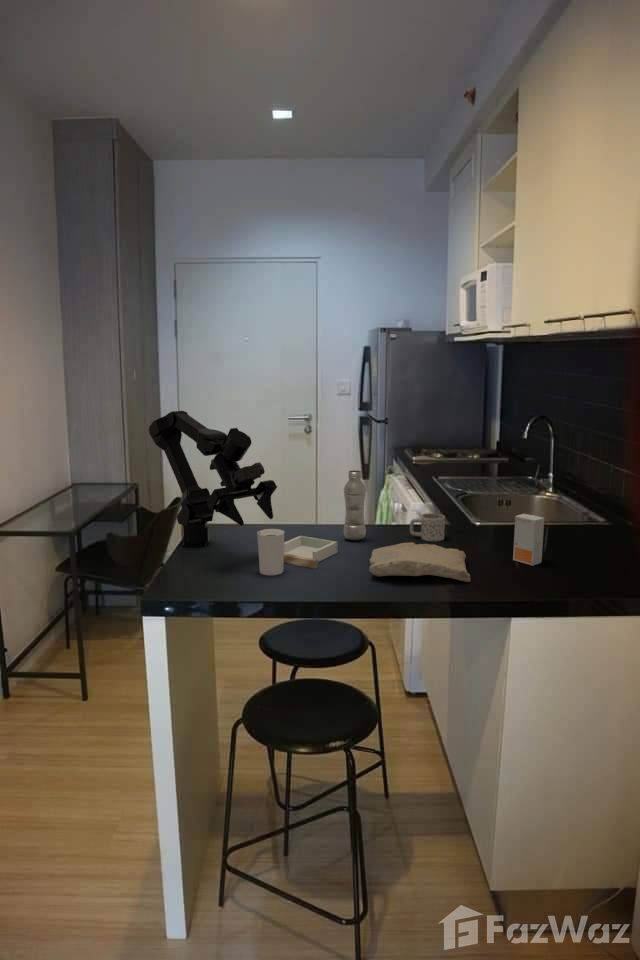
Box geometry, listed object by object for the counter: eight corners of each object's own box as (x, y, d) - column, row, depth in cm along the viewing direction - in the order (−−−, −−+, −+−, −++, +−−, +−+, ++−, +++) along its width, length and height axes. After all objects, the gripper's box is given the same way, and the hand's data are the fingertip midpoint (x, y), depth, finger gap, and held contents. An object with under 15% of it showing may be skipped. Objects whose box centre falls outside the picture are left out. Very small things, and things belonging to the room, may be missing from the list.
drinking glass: (284, 575, 162) (283, 536, 160) (256, 576, 162) (255, 536, 160) (285, 567, 168) (284, 528, 166) (259, 567, 168) (258, 529, 166)
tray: (313, 564, 170) (313, 553, 170) (275, 557, 176) (275, 546, 176) (337, 552, 180) (337, 541, 180) (300, 546, 186) (300, 535, 186)
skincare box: (512, 560, 172) (514, 515, 170) (521, 557, 175) (524, 513, 173) (532, 566, 168) (535, 520, 166) (542, 562, 170) (545, 517, 168)
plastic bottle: (366, 536, 196) (366, 469, 192) (365, 543, 189) (365, 473, 185) (344, 536, 196) (344, 469, 192) (342, 542, 190) (342, 473, 186)
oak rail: (263, 558, 175) (262, 551, 175) (266, 557, 176) (266, 549, 176) (314, 568, 167) (314, 561, 166) (317, 567, 168) (317, 559, 168)
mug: (442, 535, 197) (442, 513, 196) (445, 541, 190) (446, 518, 189) (408, 535, 197) (408, 513, 196) (410, 541, 191) (411, 518, 189)
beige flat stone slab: (471, 592, 153) (465, 558, 172) (472, 562, 151) (466, 531, 170) (365, 591, 157) (371, 557, 176) (364, 561, 154) (370, 531, 174)
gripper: (211, 457, 161) (240, 508, 155) (271, 449, 173) (300, 497, 167) (195, 484, 168) (221, 535, 162) (254, 475, 180) (281, 522, 174)
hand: (257, 521), depth 166 cm, fingers open, 9 cm apart
